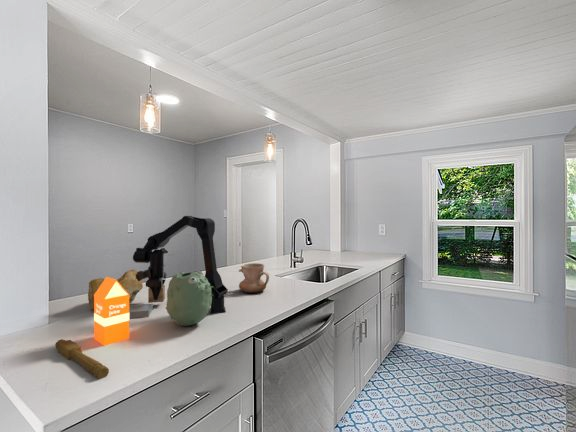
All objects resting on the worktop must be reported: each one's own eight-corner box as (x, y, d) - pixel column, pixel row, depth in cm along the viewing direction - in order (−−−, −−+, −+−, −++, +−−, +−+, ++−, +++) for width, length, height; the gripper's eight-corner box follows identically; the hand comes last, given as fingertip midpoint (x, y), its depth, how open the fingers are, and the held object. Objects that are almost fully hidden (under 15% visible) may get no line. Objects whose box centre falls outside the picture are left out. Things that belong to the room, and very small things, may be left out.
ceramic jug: (231, 292, 161) (231, 265, 161) (246, 286, 174) (246, 261, 174) (261, 297, 154) (261, 269, 153) (274, 290, 167) (274, 264, 167)
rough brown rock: (127, 297, 154) (125, 268, 154) (147, 299, 145) (145, 268, 146) (76, 311, 134) (73, 277, 134) (96, 314, 126) (93, 278, 126)
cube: (163, 301, 135) (163, 288, 135) (148, 302, 134) (148, 289, 134) (164, 298, 141) (164, 285, 141) (150, 299, 139) (150, 286, 139)
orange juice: (118, 331, 107) (118, 274, 107) (129, 338, 101) (129, 278, 101) (93, 338, 101) (93, 278, 101) (103, 346, 95) (103, 282, 95)
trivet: (148, 316, 123) (148, 310, 123) (121, 319, 120) (121, 312, 120) (152, 309, 132) (152, 303, 132) (127, 311, 130) (127, 305, 130)
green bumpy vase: (183, 314, 125) (183, 266, 125) (222, 321, 118) (222, 269, 118) (153, 328, 111) (153, 272, 110) (195, 336, 103) (195, 277, 103)
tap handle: (96, 369, 76) (53, 339, 93) (96, 382, 76) (53, 349, 93) (109, 364, 78) (65, 336, 96) (109, 376, 78) (65, 346, 96)
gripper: (141, 261, 144) (141, 294, 144) (132, 267, 126) (132, 305, 126) (166, 260, 147) (166, 292, 147) (161, 266, 129) (161, 303, 129)
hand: (156, 298), depth 137 cm, fingers closed on cube, 6 cm apart
